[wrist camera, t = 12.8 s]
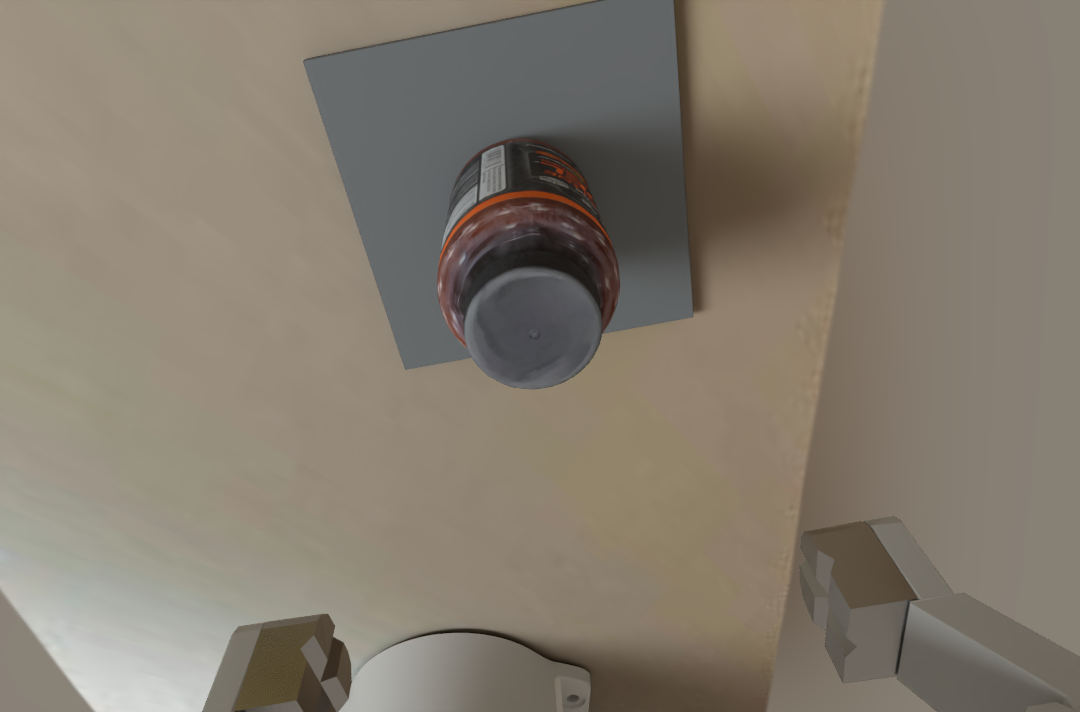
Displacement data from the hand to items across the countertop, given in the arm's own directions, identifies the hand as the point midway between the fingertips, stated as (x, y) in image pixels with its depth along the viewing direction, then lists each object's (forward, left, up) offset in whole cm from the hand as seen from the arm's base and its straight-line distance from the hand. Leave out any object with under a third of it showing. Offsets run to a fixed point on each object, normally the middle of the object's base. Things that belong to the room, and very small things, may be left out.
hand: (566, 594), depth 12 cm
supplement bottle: (0, 0, -21) cm, 21 cm away
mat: (0, 0, -21) cm, 21 cm away
